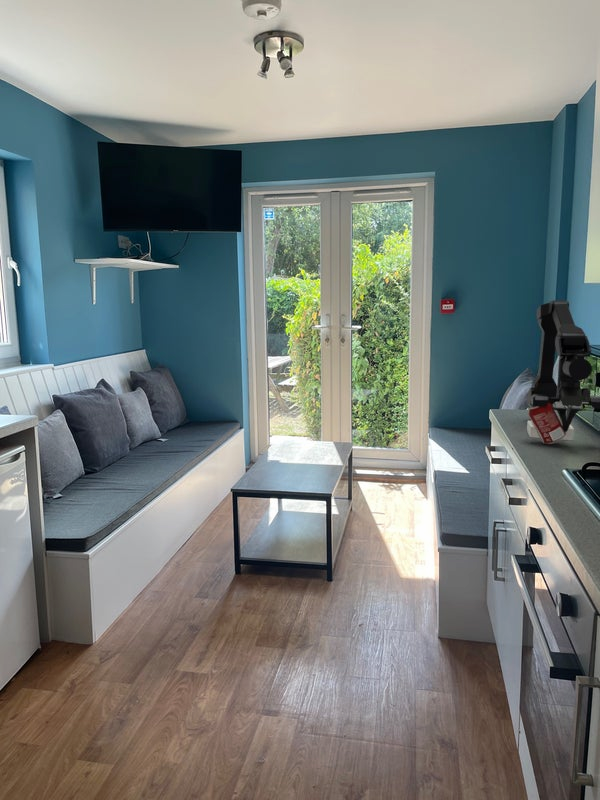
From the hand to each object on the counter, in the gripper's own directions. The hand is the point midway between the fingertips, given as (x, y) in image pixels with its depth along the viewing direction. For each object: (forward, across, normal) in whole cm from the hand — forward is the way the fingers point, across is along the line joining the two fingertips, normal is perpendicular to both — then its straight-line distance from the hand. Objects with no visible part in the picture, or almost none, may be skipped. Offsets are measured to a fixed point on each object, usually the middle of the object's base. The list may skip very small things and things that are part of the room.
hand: (565, 431), depth 163 cm
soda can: (+3, -2, +1) cm, 4 cm away
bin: (+4, -2, +13) cm, 13 cm away
